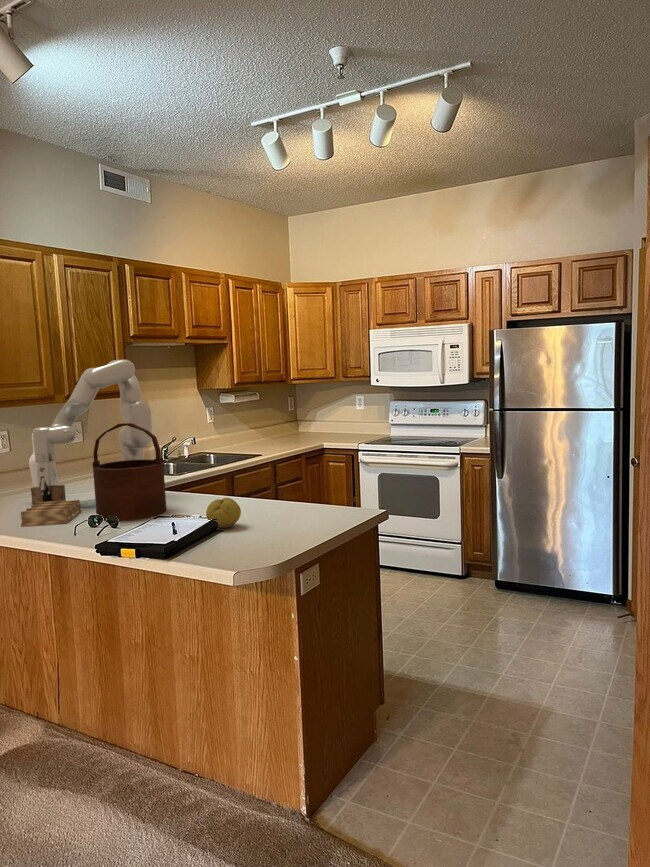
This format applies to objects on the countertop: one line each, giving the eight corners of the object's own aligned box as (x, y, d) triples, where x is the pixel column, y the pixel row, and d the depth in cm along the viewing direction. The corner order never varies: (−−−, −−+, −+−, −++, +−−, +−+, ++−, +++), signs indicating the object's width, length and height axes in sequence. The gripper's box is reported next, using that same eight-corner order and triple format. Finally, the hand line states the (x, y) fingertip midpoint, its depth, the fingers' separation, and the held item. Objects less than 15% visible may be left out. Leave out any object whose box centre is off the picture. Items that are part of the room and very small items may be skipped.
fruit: (222, 522, 217) (220, 494, 216) (248, 525, 211) (247, 496, 210) (200, 529, 207) (199, 500, 206) (228, 533, 201) (226, 503, 200)
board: (66, 509, 249) (64, 484, 248) (64, 510, 246) (62, 486, 245) (35, 511, 247) (33, 486, 246) (33, 512, 245) (30, 488, 244)
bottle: (45, 504, 261) (37, 434, 257) (29, 503, 263) (21, 434, 259) (57, 499, 268) (50, 431, 264) (42, 499, 270) (34, 432, 267)
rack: (81, 512, 241) (80, 499, 241) (67, 523, 223) (66, 509, 223) (38, 515, 240) (37, 502, 239) (21, 526, 222) (20, 512, 221)
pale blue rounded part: (109, 501, 263) (109, 498, 263) (102, 507, 251) (102, 504, 251) (80, 503, 261) (80, 500, 261) (72, 509, 250) (71, 506, 249)
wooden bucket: (106, 508, 248) (100, 422, 245) (171, 504, 251) (166, 419, 247) (88, 523, 223) (80, 427, 219) (160, 519, 225) (154, 424, 221)
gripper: (48, 460, 237) (52, 507, 239) (61, 454, 253) (65, 498, 255) (28, 461, 236) (32, 508, 238) (42, 455, 252) (46, 499, 254)
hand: (49, 502), depth 246 cm, fingers closed on board, 3 cm apart
